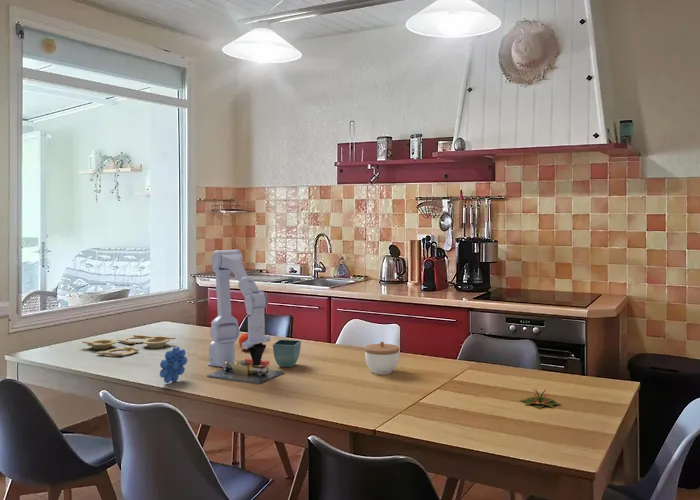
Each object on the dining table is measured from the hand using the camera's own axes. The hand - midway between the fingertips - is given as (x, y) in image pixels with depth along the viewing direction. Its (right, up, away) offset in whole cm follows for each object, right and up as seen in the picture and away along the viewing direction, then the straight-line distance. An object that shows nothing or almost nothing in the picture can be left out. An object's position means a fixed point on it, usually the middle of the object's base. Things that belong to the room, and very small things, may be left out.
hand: (256, 365), depth 219 cm
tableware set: (-63, -2, +50) cm, 81 cm away
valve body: (-4, -4, +4) cm, 7 cm away
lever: (-1, 0, +3) cm, 3 cm away
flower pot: (+9, -4, +17) cm, 20 cm away
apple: (-10, -2, +44) cm, 46 cm away
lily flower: (+91, -7, -29) cm, 95 cm away
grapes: (-28, -5, -4) cm, 29 cm away
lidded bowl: (+44, -4, +8) cm, 45 cm away
